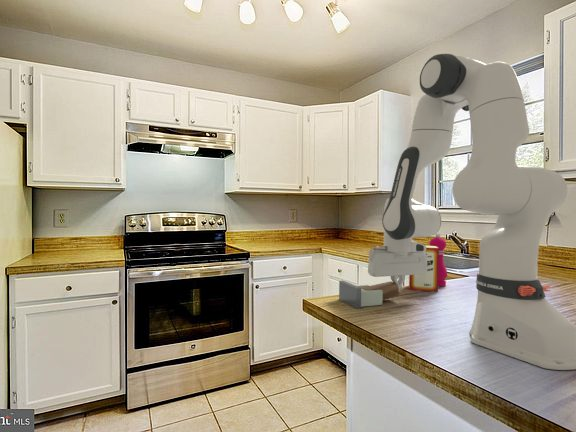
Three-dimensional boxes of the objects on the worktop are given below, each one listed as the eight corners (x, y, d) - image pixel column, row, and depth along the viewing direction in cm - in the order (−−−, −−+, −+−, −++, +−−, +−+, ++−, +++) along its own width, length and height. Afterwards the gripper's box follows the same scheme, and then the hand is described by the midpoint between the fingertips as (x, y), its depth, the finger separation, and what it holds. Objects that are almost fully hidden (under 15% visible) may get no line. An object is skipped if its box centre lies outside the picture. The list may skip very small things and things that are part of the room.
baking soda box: (435, 288, 128) (436, 245, 128) (438, 292, 122) (438, 247, 122) (408, 286, 131) (409, 244, 131) (409, 290, 125) (410, 245, 124)
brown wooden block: (399, 296, 108) (397, 284, 108) (364, 304, 105) (363, 291, 105) (392, 293, 112) (390, 281, 112) (358, 300, 109) (357, 288, 109)
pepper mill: (430, 282, 138) (431, 232, 138) (449, 284, 134) (450, 233, 134) (424, 285, 133) (425, 233, 133) (444, 288, 128) (445, 234, 128)
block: (382, 304, 104) (382, 290, 104) (359, 306, 102) (359, 292, 101) (366, 297, 112) (367, 284, 112) (344, 299, 110) (345, 285, 110)
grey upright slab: (361, 308, 101) (361, 288, 100) (356, 308, 100) (356, 288, 100) (343, 299, 111) (343, 280, 111) (339, 299, 110) (339, 280, 110)
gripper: (374, 247, 104) (374, 293, 104) (430, 246, 110) (430, 289, 110) (364, 246, 110) (364, 289, 110) (417, 244, 116) (417, 285, 116)
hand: (397, 289), depth 110 cm, fingers closed
